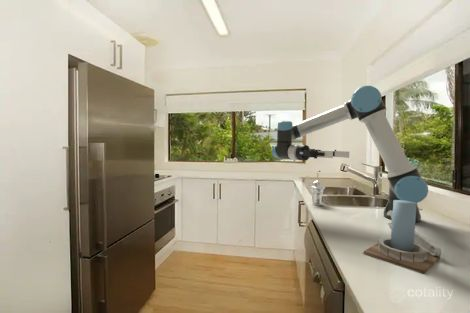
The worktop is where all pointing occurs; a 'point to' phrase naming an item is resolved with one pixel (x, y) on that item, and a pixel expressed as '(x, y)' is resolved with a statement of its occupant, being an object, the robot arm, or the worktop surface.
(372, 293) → the worktop surface
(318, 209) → the worktop surface
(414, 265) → the collar board
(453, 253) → the worktop surface
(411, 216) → the post
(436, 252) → the wrench
